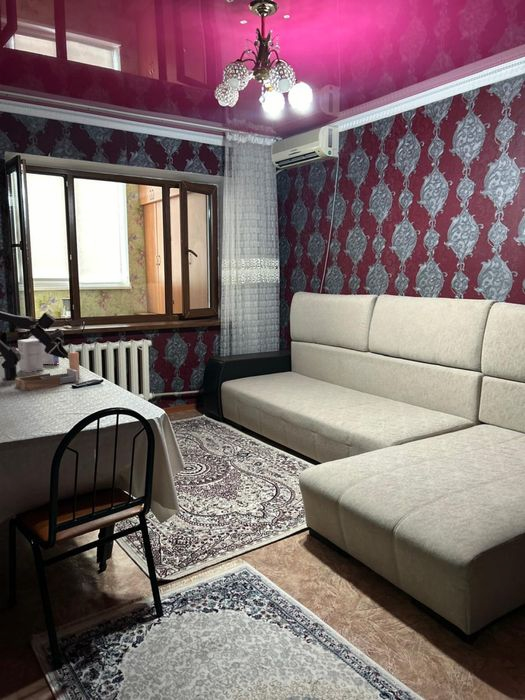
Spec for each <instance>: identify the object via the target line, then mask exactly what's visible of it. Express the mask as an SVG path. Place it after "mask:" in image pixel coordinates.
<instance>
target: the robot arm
mask: <svg viewBox="0 0 525 700" xmlns="http://www.w3.org/2000/svg"><path fill="white" fill-rule="evenodd" d="M0 320H1V321H3V322H7V323H11V324H14V325H15V326H17V327H20V328H21V329H25V330H26V336H27V337H29V336H34V337H35V338H36V339H38V340H39V342H40V343H42V344H44V345H45V346H46V348H45V349H44V350H45V352H46V353H47V354H48V353H49V352H50V353H49V354H51V355H54V356H57V357H59V358H61V359H65V358H66V356H69V352H68V351H67V350H66V349H65V347H64V345H63V340H62V338H60V337H63V336H64V334H65V333H64V330H62V329H61V328H56V329H54V332H52V333H51V332H49V331H46V330H50V328H51V327H52V326H53V325H54V324H55V323H57V320H56V319H55V317H54V316H52V315H50V314H49V313H47V312H44V313H43V314H42V315H41V317H39V319H37V318H33V317H32V316H27V315H15V314H12V313H9V312H4V311H0ZM34 325H36V326H35V327H34ZM27 329H29V330H27ZM0 354H1V356H2V358H3V359H4V361H3V362H2V363H1V367H2V369H3V375H4V376H2V377H1V378H2V379H3V380H6V381H12V380H15V378H20V377H19V376H18V372H17V366H18V363H20V362H19V361H20V360H21V355H20V353H19V350H17V349H16V347H15V346H13V347H9V346H8V345H6V343H4V342H3V341H2V340H1V339H0Z"/></svg>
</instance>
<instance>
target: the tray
mask: <svg viewBox="0 0 525 700" xmlns="http://www.w3.org/2000/svg"><path fill="white" fill-rule="evenodd" d="M55 377H60V380H61V384H66V383H72V382H78V381H79V377H78V371H76V370H73V369H70V368H69V367H66V372H65V373H58V374H50V376H44V377H40V380H42V379H48V378H55Z"/></svg>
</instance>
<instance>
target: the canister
mask: <svg viewBox="0 0 525 700" xmlns="http://www.w3.org/2000/svg"><path fill="white" fill-rule="evenodd" d="M79 354H80V353H79V352H78V351H70V352H68V363H69V364H68V368H70V369H73V370H76V371H78V376H80V375H81V374H80V371H81V370H80V358H79V357H80V356H79Z"/></svg>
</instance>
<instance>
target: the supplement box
mask: <svg viewBox="0 0 525 700" xmlns="http://www.w3.org/2000/svg"><path fill="white" fill-rule="evenodd" d="M17 349H18V350H17V351H19V353H20V355H21V360H20V361H19V362H18V363H19V370H20V371H21V370H22V372H24V373H26V372H28V373H33V372H32V371H34V372H38V371H37V370H41V371H44V365H43V358H42V345H41V343H40V342H39V340H38V339H35V338H33V339H28V338H26V339H18V340H17Z"/></svg>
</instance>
